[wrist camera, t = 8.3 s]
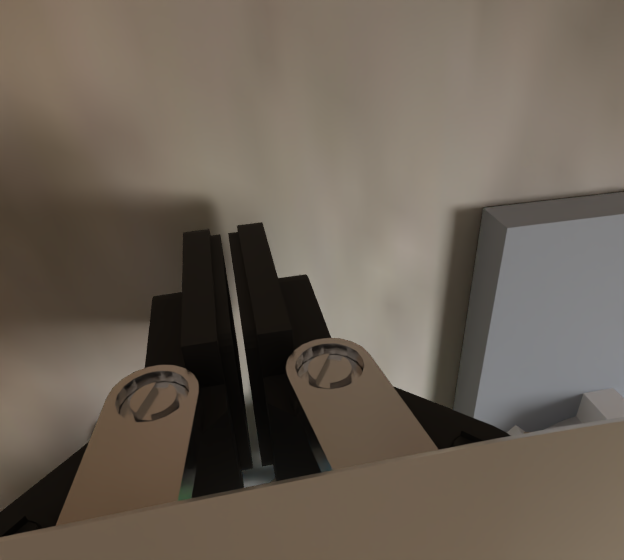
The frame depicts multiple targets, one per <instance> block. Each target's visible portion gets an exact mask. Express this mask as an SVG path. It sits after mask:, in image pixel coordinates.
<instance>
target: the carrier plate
mask: <svg viewBox="0 0 624 560" xmlns="http://www.w3.org/2000/svg"><path fill="white" fill-rule="evenodd" d="M453 410H455V411H457V412H460V413H462V414H465V415H467V416H470V417H472V418H475V419H478V420H480V421H483V422H485V423H488V424H490V425H493V426H495V427H497V428H499V429H501V430H503V431H505V432H506V433H508V434H509V435H510V436H514V435H519V434H523V432H535V431H540V430H545V429H550V428H555V427H562V426H568V425H575V424H581V423H588V422H594V421H601V420H607V419H614V418H620V417H624V192H618V193H609V194H600V195H591V196H583V197H574V198H565V199H556V200H548V201H539V202H530V203H521V204H513V205H504V206H495V207H486V208H483V212H482V219H481V226H480V233H479V239H478V246H477V253H476V259H475V266H474V273H473V279H472V286H471V293H470V299H469V306H468V313H467V319H466V326H465V333H464V339H463V346H462V353H461V360H460V366H459V373H458V380H457V386H456V393H455V400H454V406H453Z"/></svg>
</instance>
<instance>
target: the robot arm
mask: <svg viewBox="0 0 624 560" xmlns="http://www.w3.org/2000/svg"><path fill="white" fill-rule="evenodd" d="M237 228H238V232H236V233H228V235H229V242H230V249H231V256H232V263H233V270H234V276H235V283H236V290H237V297H238V304H239V311H240V318H241V325H242V332H243V339H244V345H245V352H246V359H247V366H248V373H249V380H250V386H251V393H252V400H253V407H254V414H255V420H256V427H257V434H258V441H259V448H260V455H261V461H262V466H267V465H272V464H273V465H274V471H275V477H276V482H271V483H266V484H261V485H256V486H251V487H246V488H244V486H243V476H242V470H247V469H252V468H253V465H252V457H251V449H250V441H249V433H248V425H247V417H246V409H245V401H244V393H243V385H242V377H241V370H240V362H239V354H238V346H237V339H236V333H235V326H234V320H233V313H232V307H231V300H230V294H229V288H228V281H227V275H226V268H225V262H224V255H223V249H222V243H221V236H220V235H213V236H211V235H210V230H209V229H207V230H199V231H192V232H184V233H183V273H182V292H180V293H173V294H167V295H160V296H154V297H153V300H152V307H151V317H150V326H149V335H148V344H147V354H146V363H145V368H144V369H141V370H138V371H136V372H133V373H132V374H130V375H128V376H127V377H125V378H123V379H122V380H121V381H120V382H119V383H118V384H116V385H115V386H114V387H113V388H112V390H111V392H110V393H109V395H108V396H107V398H106V400H105V403H104V405H103V408H102V410H101V413H100V416H99V418H98V421H97V423H96V426H95V428H94V431H93V433H92V436H91V438H90V441H89V442H88V443H87V444H86V445H85V446H83V447H82V448H81V449H80V450H78V451H77V452H76V453H75V454H73V455H72V456H71V457H70V458H68V459H67V460H66V461H64V462H63V463H62V464H61V465H59V466H58V467H57V468H56V469H54V470H53V471H52V472H51V473H49V474H48V475H47V476H46V477H44V478H43V479H42V480H40V481H39V482H38V483H37V484H35V485H34V486H33V487H32V488H30V489H29V490H28V491H27V492H25V493H24V494H23V495H22V496H20V497H19V498H18V499H17V500H15V501H14V502H13V503H11V504H10V505H9V506H8V507H6V508H5V509H4V510H3V511H1V512H0V560H624V417H620V418H614V419H607V420H601V421H594V422H588V423H581V424H575V425H568V426H562V427H555V428H550V429H545V430H540V431H535V432H523V434H519V435H514V436H510V435H509V434H508V433H506V432H505V431H503V430H501V429H499V428H497V427H495V426H493V425H490V424H488V423H485V422H483V421H480V420H478V419H475V418H472V417H470V416H467V415H465V414H462V413H460V412H457V411H455V410H452V409H449V408H447V407H444V406H442V405H439V404H437V403H434V402H432V401H429V400H427V399H424V398H421V397H419V396H416V395H414V394H411V393H409V392H406V391H404V390H401V389H398V388H396V387H393V386H392V384H391V383H390V381H389V380H388V379H387V377H386V376H385V375H384V373H383V372H382V370H381V369H380V368H379V366H378V365H377V363H376V362H375V361H374V359H373V358H372V357H371V355H370V354H369V353H368V352H367V351H366V350H365V349H364V348H363V347H362V346H360V345H358V344H356V343H354V342H352V341H348V340H344V339H340V338H331V336H330V334H329V331H328V328H327V326H326V323H325V320H324V318H323V315H322V312H321V310H320V307H319V305H318V302H317V299H316V297H315V294H314V291H313V289H312V286H311V283H310V281H309V278H308V276H307V275H306V274H305V275H298V276H291V277H284V278H278V277H277V273H276V270H275V266H274V263H273V259H272V255H271V252H270V248H269V245H268V241H267V238H266V234H265V231H264V227H263V224H262V223H254V224H246V225H238V226H237Z"/></svg>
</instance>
